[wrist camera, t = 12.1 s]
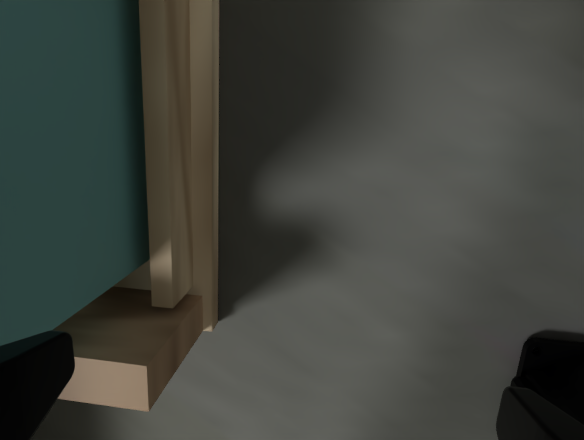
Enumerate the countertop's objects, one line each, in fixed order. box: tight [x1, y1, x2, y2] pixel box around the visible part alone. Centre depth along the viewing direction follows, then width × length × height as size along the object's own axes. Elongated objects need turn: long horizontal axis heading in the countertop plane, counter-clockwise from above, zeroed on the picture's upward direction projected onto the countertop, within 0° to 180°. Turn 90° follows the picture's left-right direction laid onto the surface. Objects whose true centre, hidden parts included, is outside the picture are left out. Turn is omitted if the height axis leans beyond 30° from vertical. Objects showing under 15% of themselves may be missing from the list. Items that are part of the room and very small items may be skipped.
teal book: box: [0, 0, 150, 346], centre depth 14 cm, size 4×12×10 cm, turn 177°
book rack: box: [53, 0, 219, 412], centre depth 16 cm, size 10×20×7 cm, turn 177°
